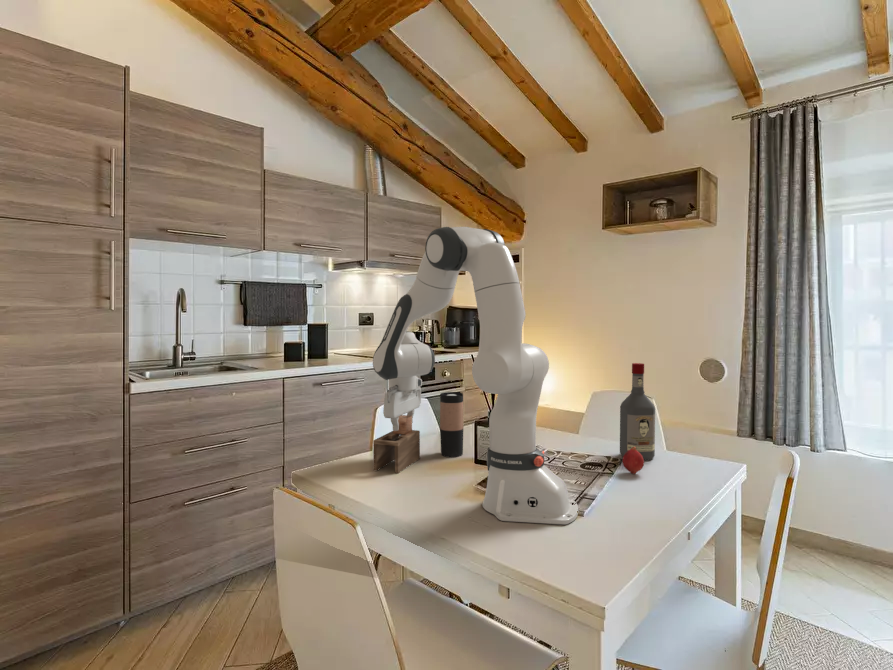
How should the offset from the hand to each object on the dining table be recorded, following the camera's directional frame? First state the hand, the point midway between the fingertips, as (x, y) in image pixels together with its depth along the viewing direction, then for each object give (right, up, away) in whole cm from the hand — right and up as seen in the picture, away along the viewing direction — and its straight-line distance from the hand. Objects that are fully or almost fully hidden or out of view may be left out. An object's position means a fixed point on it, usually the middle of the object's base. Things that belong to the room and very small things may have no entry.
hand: (402, 427), depth 163 cm
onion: (+67, -11, -14) cm, 70 cm away
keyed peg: (0, -5, 0) cm, 5 cm away
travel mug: (+15, -11, +8) cm, 20 cm away
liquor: (+75, -10, +4) cm, 76 cm away
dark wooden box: (-1, -11, -3) cm, 11 cm away
